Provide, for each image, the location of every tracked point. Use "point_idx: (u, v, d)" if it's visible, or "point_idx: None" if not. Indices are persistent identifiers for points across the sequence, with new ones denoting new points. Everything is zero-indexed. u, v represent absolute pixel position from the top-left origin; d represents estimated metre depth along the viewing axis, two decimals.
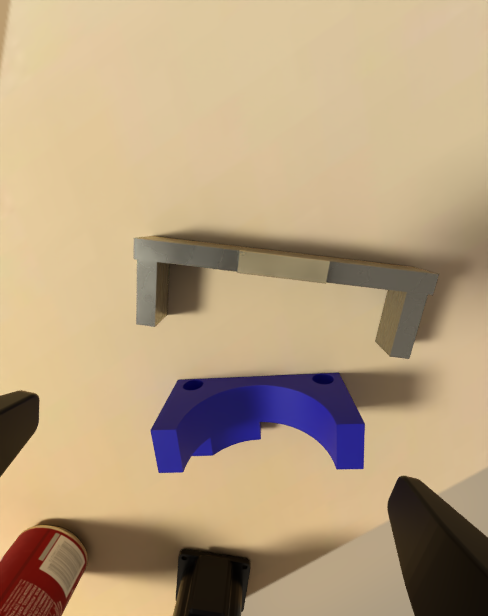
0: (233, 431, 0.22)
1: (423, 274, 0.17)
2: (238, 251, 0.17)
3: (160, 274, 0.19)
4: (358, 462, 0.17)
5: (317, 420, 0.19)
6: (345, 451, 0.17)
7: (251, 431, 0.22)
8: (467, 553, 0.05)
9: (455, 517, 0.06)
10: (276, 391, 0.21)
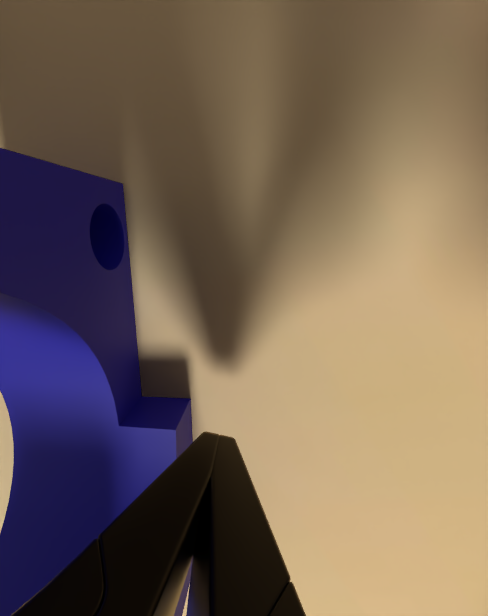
0: (133, 500, 0.08)
1: None
2: None
3: None
4: None
5: None
6: None
7: (147, 450, 0.08)
8: (213, 496, 0.05)
9: (234, 468, 0.06)
10: (6, 377, 0.07)
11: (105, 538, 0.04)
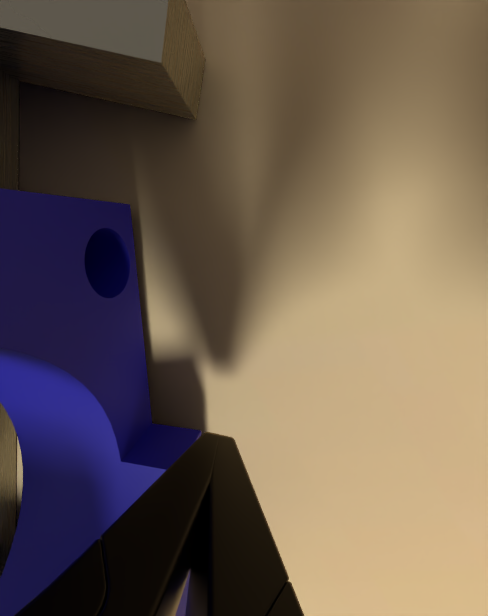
0: None
1: None
2: None
3: None
4: None
5: None
6: None
7: None
8: (212, 496, 0.05)
9: (233, 468, 0.06)
10: (12, 404, 0.07)
11: (107, 538, 0.04)
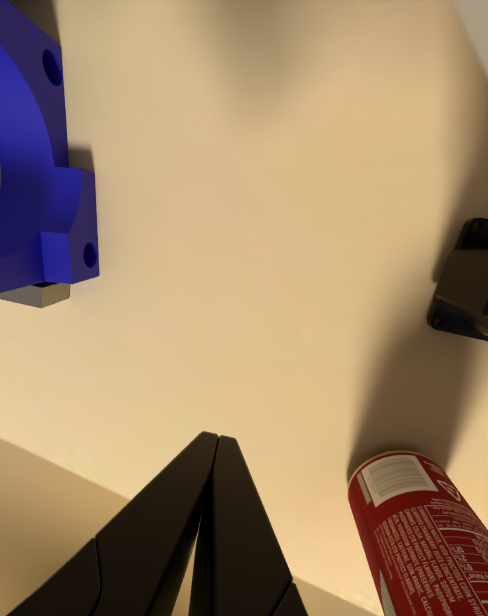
0: (59, 203, 0.16)
1: None
2: None
3: None
4: None
5: None
6: None
7: (67, 180, 0.16)
8: (215, 497, 0.05)
9: (236, 469, 0.06)
10: (0, 133, 0.16)
11: (102, 537, 0.04)
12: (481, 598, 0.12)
